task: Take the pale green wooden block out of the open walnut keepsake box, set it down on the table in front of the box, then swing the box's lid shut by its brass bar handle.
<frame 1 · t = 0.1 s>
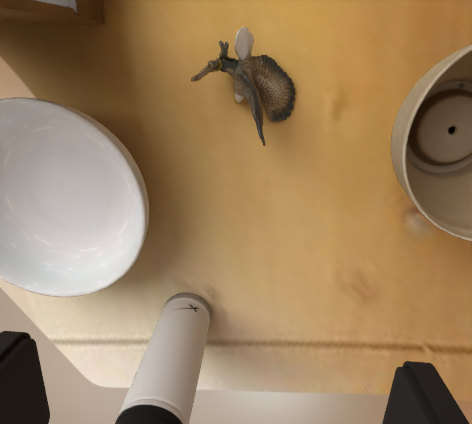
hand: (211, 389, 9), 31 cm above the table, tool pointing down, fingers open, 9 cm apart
serving bowl: (76, 188, 41), on the table
planter bowl: (443, 126, 36), on the table
travel mug: (187, 310, 46), on the table
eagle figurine: (251, 87, 36), on the table
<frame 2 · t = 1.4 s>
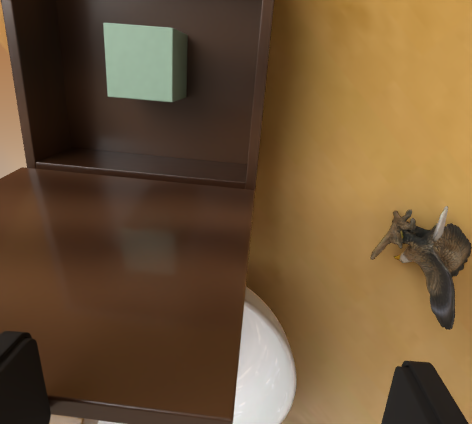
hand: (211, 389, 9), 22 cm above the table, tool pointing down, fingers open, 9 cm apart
serving bowl: (191, 325, 37), on the table
lid: (87, 282, 18), point 14 cm above the table, hinge at 94.4°, touching gripper
keepsake box: (160, 64, 27), on the table
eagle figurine: (416, 243, 31), on the table
block: (158, 64, 26), point 1 cm above the table, touching keepsake box
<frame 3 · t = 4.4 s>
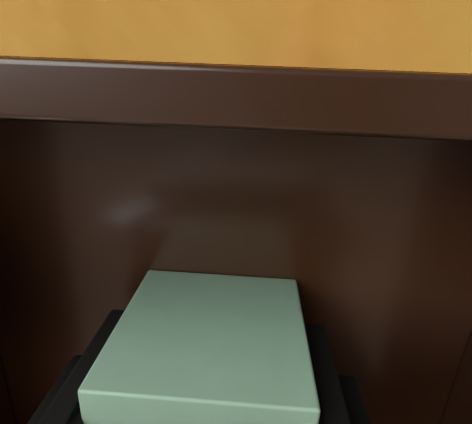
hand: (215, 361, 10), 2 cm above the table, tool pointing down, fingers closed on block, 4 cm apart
keepsake box: (222, 320, 12), on the table
block: (220, 334, 11), point 1 cm above the table, touching gripper, keepsake box
when the fingers open (1 cm above the table, at t = 11.9 s): block stays where it is, on the table.
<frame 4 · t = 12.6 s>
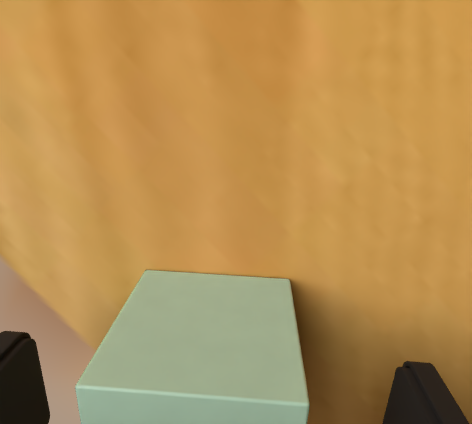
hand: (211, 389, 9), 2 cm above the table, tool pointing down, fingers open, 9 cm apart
block: (215, 333, 11), on the table
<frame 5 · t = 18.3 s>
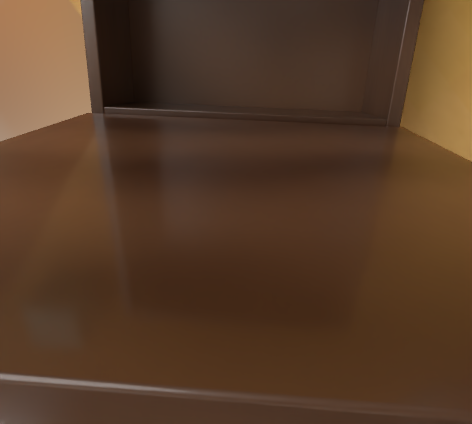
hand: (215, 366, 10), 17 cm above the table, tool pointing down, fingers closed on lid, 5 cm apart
lid: (227, 240, 12), point 14 cm above the table, hinge at 93.7°, touching gripper
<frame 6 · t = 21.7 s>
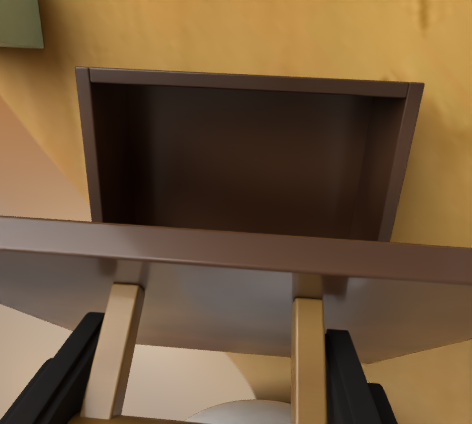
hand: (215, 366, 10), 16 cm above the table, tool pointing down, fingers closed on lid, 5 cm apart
lid: (221, 383, 13), point 13 cm above the table, hinge at 41.8°, touching gripper
keepsake box: (243, 194, 24), on the table
block: (4, 7, 21), on the table
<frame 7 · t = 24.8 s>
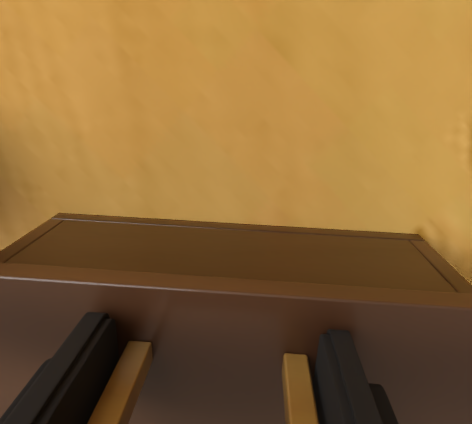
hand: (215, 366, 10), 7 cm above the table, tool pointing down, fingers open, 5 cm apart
keepsake box: (229, 357, 19), on the table
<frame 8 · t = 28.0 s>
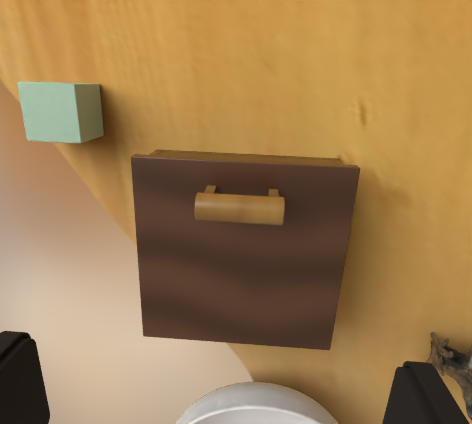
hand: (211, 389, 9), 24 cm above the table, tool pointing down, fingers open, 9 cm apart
serving bowl: (258, 420, 43), on the table
lid: (237, 274, 26), point 8 cm above the table, hinge at 0.3°
keepsake box: (242, 232, 34), on the table
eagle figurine: (450, 355, 38), on the table
block: (77, 109, 31), on the table
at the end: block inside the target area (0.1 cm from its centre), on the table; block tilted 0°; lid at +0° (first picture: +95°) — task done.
